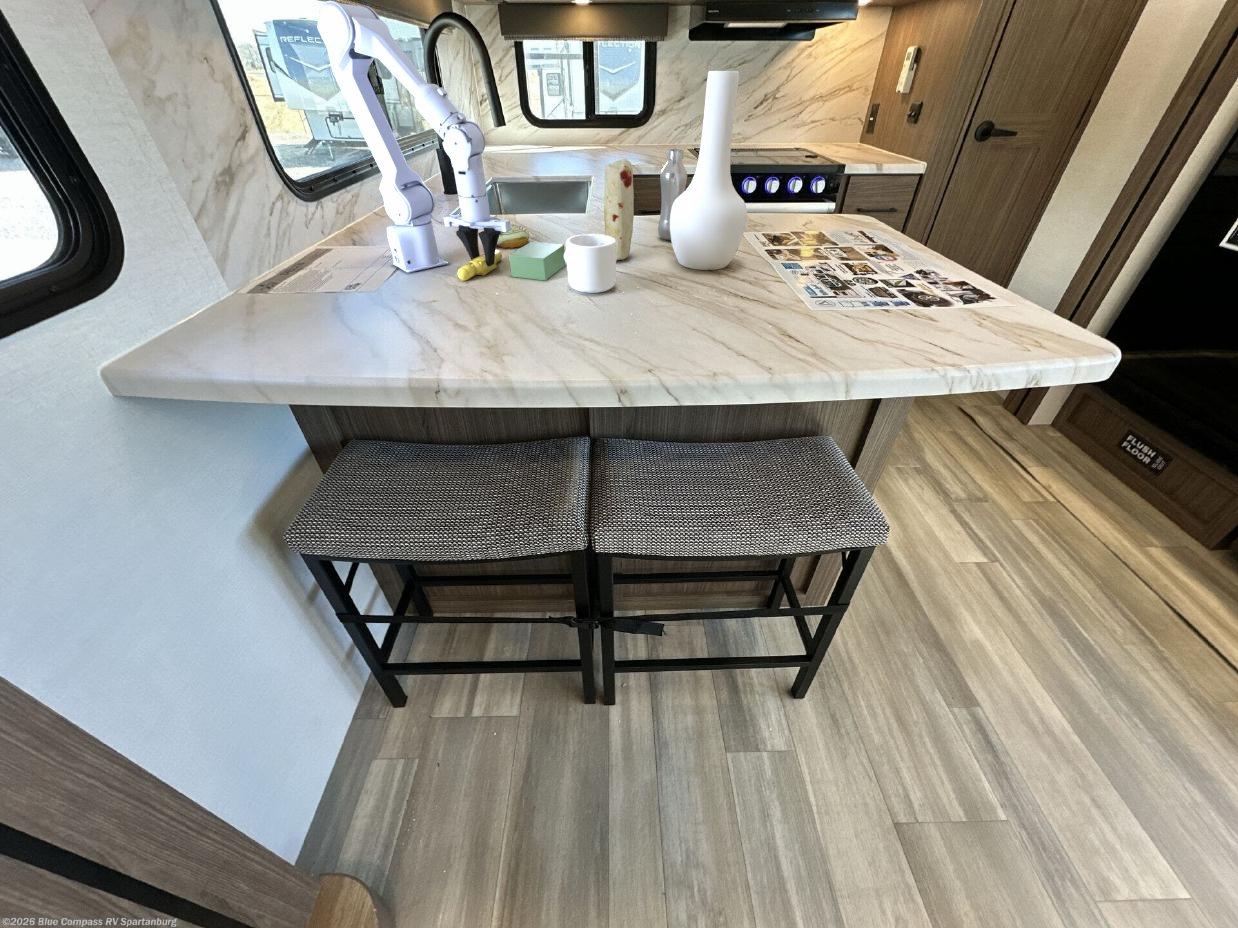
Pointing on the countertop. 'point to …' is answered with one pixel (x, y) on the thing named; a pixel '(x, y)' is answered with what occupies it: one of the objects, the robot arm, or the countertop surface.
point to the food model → (619, 205)
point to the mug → (591, 262)
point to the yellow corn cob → (478, 266)
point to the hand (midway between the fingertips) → (483, 264)
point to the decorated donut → (514, 237)
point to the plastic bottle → (671, 188)
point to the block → (537, 260)
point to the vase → (711, 187)
